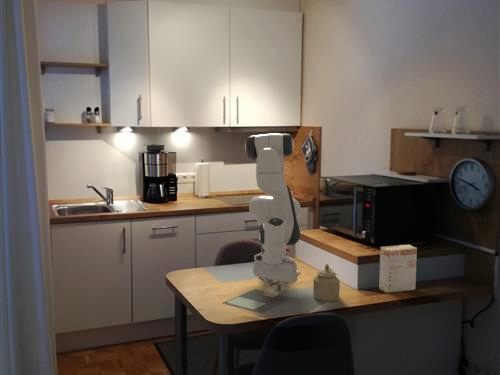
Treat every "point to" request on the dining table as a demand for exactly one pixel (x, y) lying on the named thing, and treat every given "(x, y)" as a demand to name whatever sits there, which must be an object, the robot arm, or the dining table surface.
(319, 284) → the sugar bowl
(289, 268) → the robot arm
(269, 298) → the rubber mat
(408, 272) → the coffeecake box
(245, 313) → the dining table surface
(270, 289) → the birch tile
